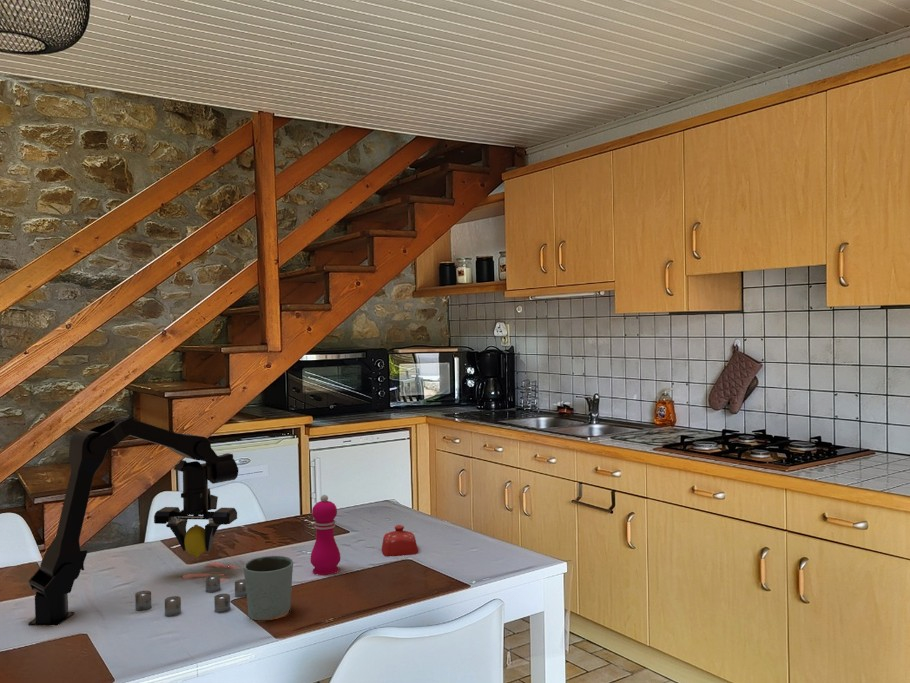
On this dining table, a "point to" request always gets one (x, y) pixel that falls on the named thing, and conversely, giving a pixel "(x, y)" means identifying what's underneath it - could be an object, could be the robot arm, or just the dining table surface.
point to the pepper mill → (325, 538)
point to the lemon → (195, 540)
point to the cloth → (216, 565)
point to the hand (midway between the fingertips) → (196, 550)
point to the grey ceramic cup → (268, 586)
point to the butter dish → (399, 543)
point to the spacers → (175, 601)
